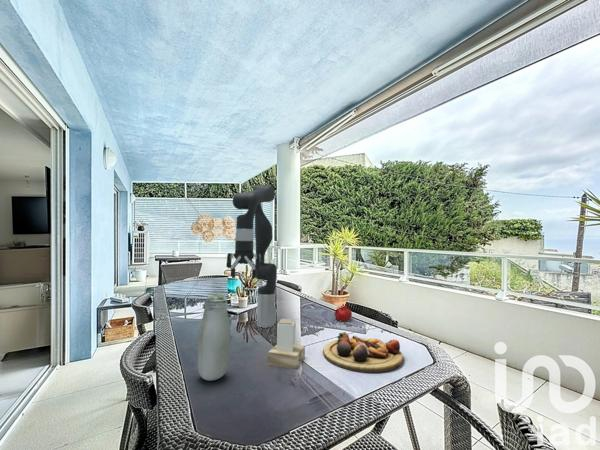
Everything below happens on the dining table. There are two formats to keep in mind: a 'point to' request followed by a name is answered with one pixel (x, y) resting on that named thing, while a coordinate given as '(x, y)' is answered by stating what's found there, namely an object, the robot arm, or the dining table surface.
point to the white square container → (286, 335)
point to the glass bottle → (214, 338)
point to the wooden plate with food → (363, 354)
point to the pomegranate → (343, 313)
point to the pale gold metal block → (286, 357)
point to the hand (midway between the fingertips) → (243, 278)
